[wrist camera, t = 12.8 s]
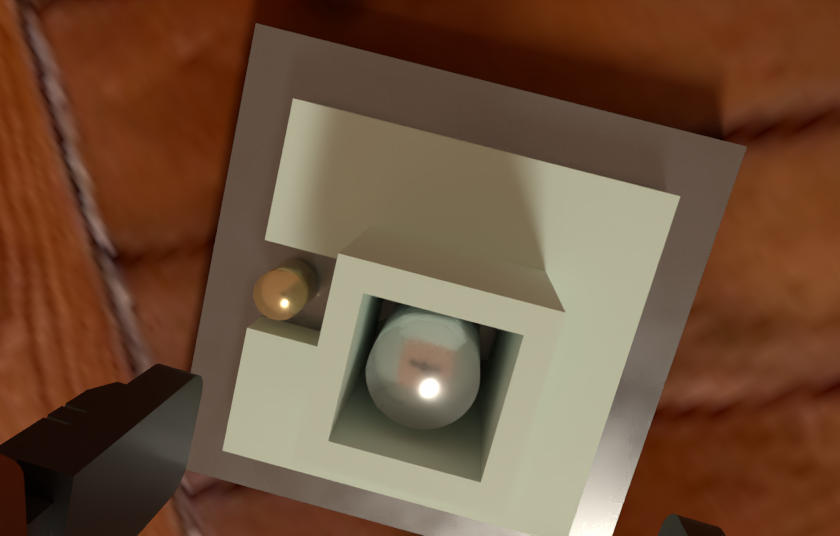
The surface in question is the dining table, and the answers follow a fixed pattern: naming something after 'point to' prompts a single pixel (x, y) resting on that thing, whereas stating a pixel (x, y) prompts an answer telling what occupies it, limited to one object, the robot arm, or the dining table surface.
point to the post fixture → (415, 327)
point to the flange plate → (454, 296)
